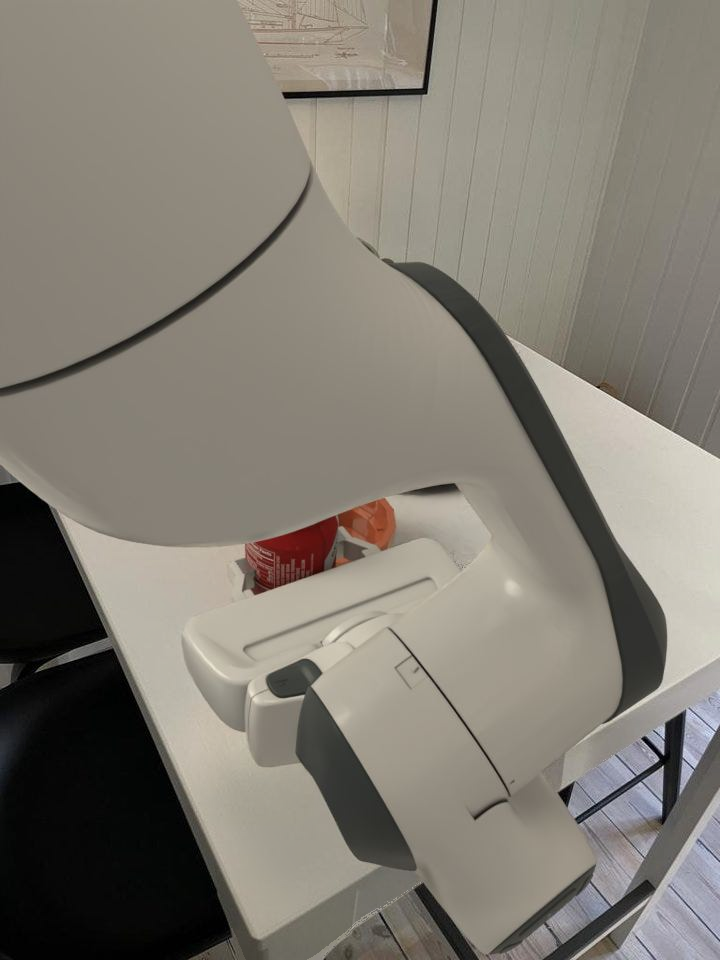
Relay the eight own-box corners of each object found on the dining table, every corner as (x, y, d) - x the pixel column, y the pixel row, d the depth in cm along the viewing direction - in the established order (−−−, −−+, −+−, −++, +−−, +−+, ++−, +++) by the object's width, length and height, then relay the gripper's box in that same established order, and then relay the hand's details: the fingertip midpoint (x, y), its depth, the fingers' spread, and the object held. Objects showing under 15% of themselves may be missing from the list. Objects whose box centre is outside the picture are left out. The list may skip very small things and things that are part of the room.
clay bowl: (365, 621, 74) (370, 578, 70) (240, 582, 77) (239, 538, 73) (405, 537, 84) (411, 495, 81) (294, 506, 87) (294, 464, 84)
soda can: (313, 660, 57) (319, 541, 50) (232, 634, 58) (226, 515, 51) (344, 600, 62) (353, 485, 55) (269, 578, 64) (268, 462, 56)
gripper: (516, 595, 50) (404, 482, 60) (230, 714, 41) (150, 559, 51) (499, 657, 54) (396, 541, 63) (233, 779, 45) (158, 623, 54)
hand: (285, 550), depth 57 cm, fingers closed on soda can, 6 cm apart
